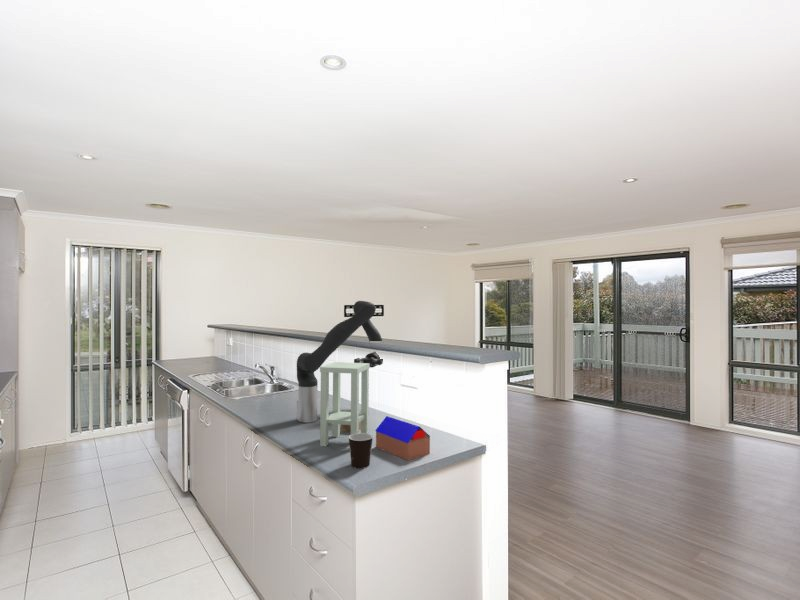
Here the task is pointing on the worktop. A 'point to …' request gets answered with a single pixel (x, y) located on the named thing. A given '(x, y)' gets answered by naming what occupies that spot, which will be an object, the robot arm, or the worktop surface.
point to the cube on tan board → (349, 427)
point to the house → (402, 439)
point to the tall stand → (337, 415)
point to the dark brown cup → (360, 449)
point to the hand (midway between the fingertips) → (364, 363)
